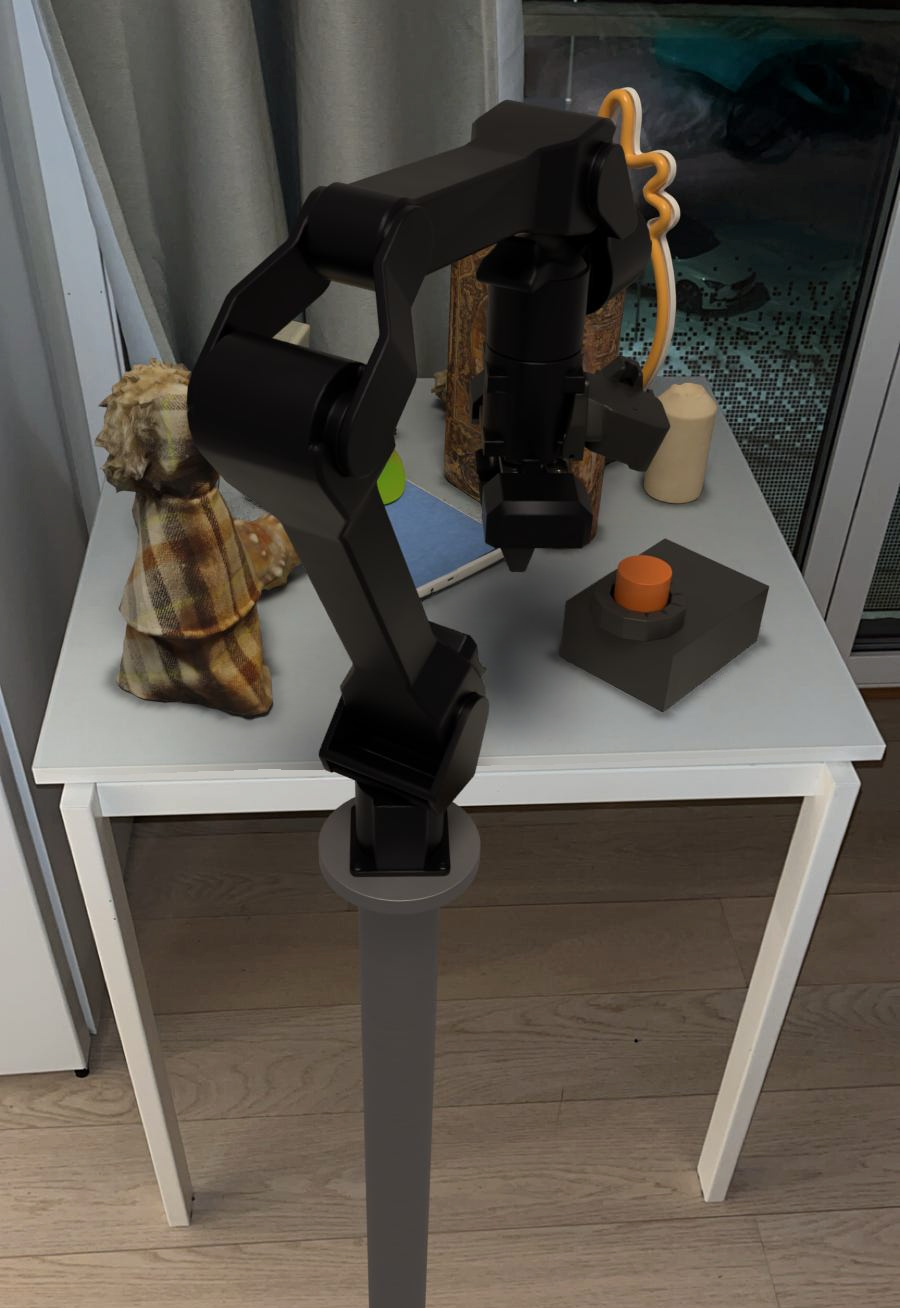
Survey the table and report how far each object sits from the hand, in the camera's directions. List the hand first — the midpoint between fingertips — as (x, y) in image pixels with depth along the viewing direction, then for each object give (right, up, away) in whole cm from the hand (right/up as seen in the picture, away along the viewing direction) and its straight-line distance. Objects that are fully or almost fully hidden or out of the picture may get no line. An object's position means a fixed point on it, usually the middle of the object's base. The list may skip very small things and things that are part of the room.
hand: (517, 569), depth 86 cm
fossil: (-1, +32, +51) cm, 60 cm away
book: (+2, +11, +32) cm, 34 cm away
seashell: (-21, +3, +22) cm, 30 cm away
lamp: (+8, +20, +41) cm, 46 cm away
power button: (+10, 0, +9) cm, 14 cm away
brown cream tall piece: (-24, -6, +12) cm, 28 cm away
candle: (+16, +14, +35) cm, 41 cm away
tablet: (-10, +8, +27) cm, 30 cm away
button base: (+12, -3, +16) cm, 20 cm away
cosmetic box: (-21, +30, +41) cm, 56 cm away
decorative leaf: (-12, +14, +28) cm, 33 cm away
